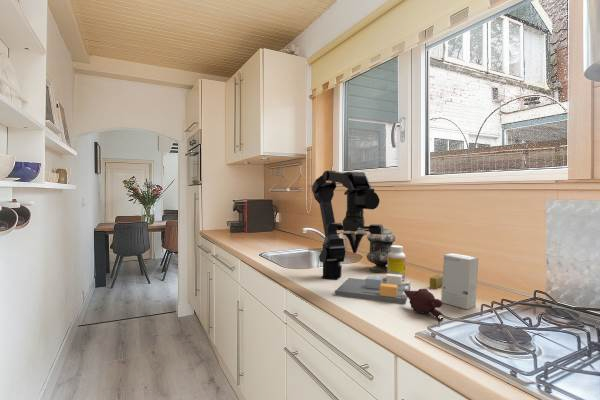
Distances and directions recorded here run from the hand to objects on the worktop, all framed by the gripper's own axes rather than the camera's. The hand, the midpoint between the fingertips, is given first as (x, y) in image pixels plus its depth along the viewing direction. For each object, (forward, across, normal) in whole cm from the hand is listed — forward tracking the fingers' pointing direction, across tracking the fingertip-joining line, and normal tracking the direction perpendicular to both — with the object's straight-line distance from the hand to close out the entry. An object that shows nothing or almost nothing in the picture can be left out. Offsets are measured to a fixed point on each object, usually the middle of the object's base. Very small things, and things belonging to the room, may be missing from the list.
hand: (354, 252), depth 118 cm
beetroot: (+13, +23, -16) cm, 31 cm away
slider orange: (+11, +13, -8) cm, 19 cm away
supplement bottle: (+13, +12, +19) cm, 26 cm away
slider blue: (+11, +7, -1) cm, 13 cm away
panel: (+12, +7, -1) cm, 14 cm away
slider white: (+11, +13, +6) cm, 18 cm away
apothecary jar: (+13, +4, +32) cm, 35 cm away
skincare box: (+13, +33, -4) cm, 36 cm away
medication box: (+13, +28, +17) cm, 35 cm away
